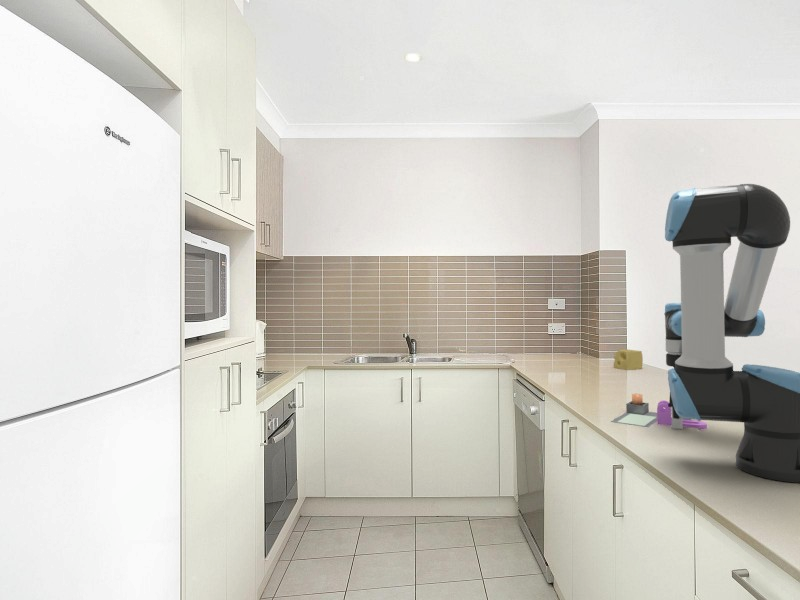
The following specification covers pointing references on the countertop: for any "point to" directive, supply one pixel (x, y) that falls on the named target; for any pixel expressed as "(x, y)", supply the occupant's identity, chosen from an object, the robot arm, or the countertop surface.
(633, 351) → the cheese
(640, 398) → the button
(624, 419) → the grey flat plate
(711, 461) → the countertop surface
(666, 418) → the bracket
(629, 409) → the button housing
